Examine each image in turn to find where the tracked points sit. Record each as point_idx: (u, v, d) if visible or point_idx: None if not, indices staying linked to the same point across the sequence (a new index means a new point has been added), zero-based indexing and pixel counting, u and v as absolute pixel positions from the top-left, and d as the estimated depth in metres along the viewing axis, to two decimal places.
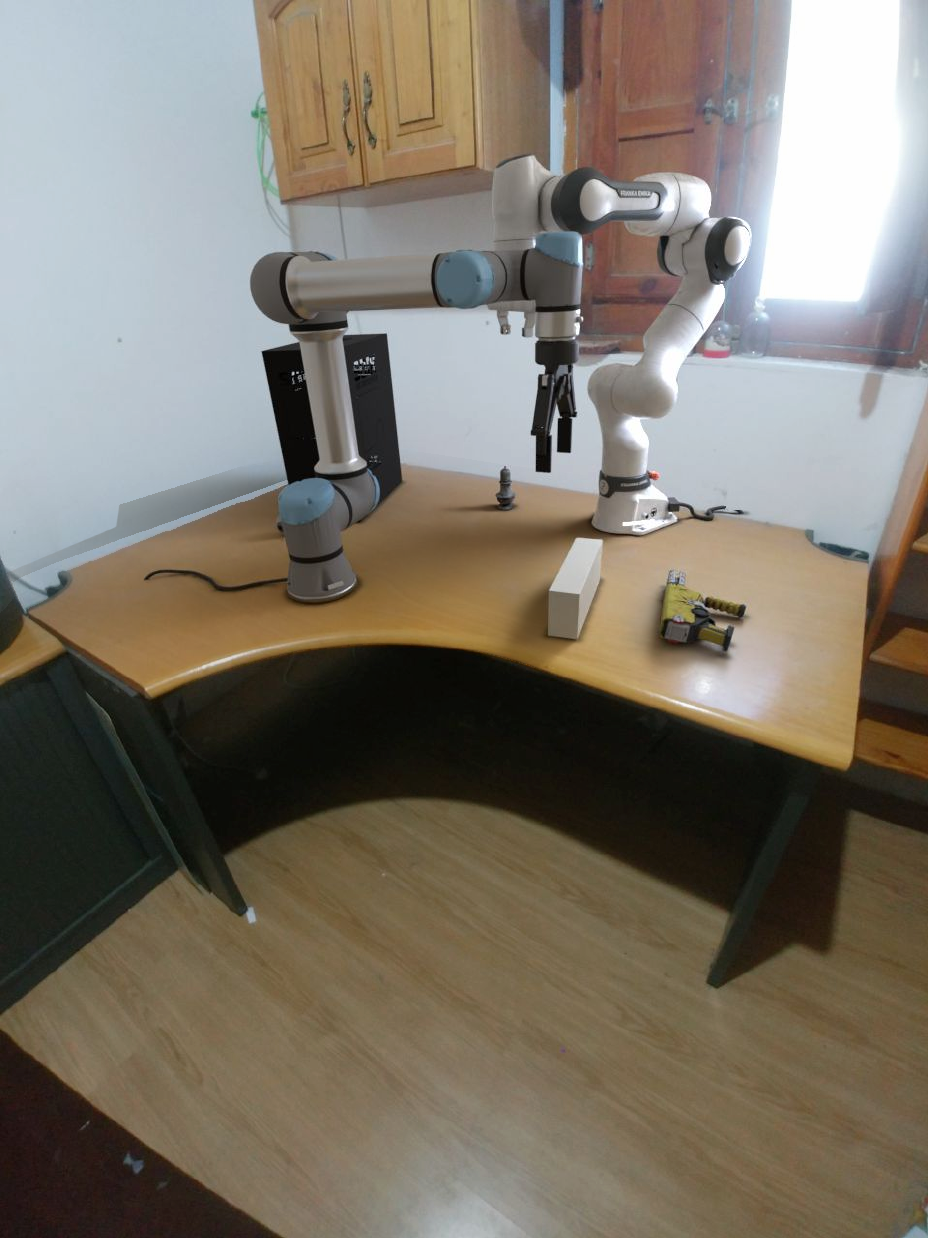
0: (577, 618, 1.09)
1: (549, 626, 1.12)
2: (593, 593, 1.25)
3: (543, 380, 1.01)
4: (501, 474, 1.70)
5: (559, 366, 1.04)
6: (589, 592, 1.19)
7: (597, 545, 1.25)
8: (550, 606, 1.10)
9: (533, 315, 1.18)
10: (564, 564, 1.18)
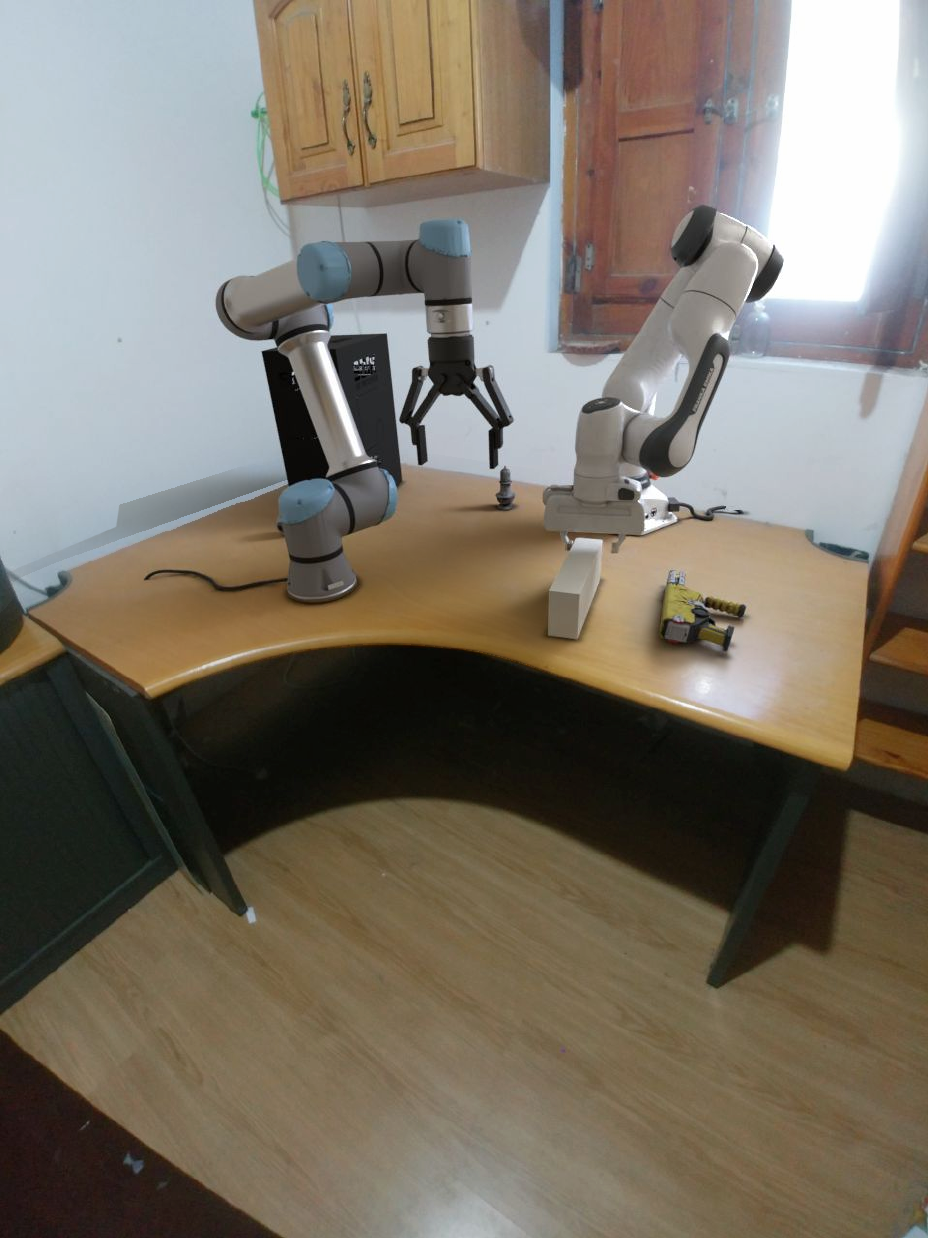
0: (577, 618, 1.09)
1: (549, 626, 1.12)
2: (593, 593, 1.25)
3: None
4: (501, 474, 1.70)
5: (438, 363, 0.99)
6: (589, 592, 1.19)
7: (597, 545, 1.25)
8: (550, 606, 1.10)
9: None
10: (564, 564, 1.18)
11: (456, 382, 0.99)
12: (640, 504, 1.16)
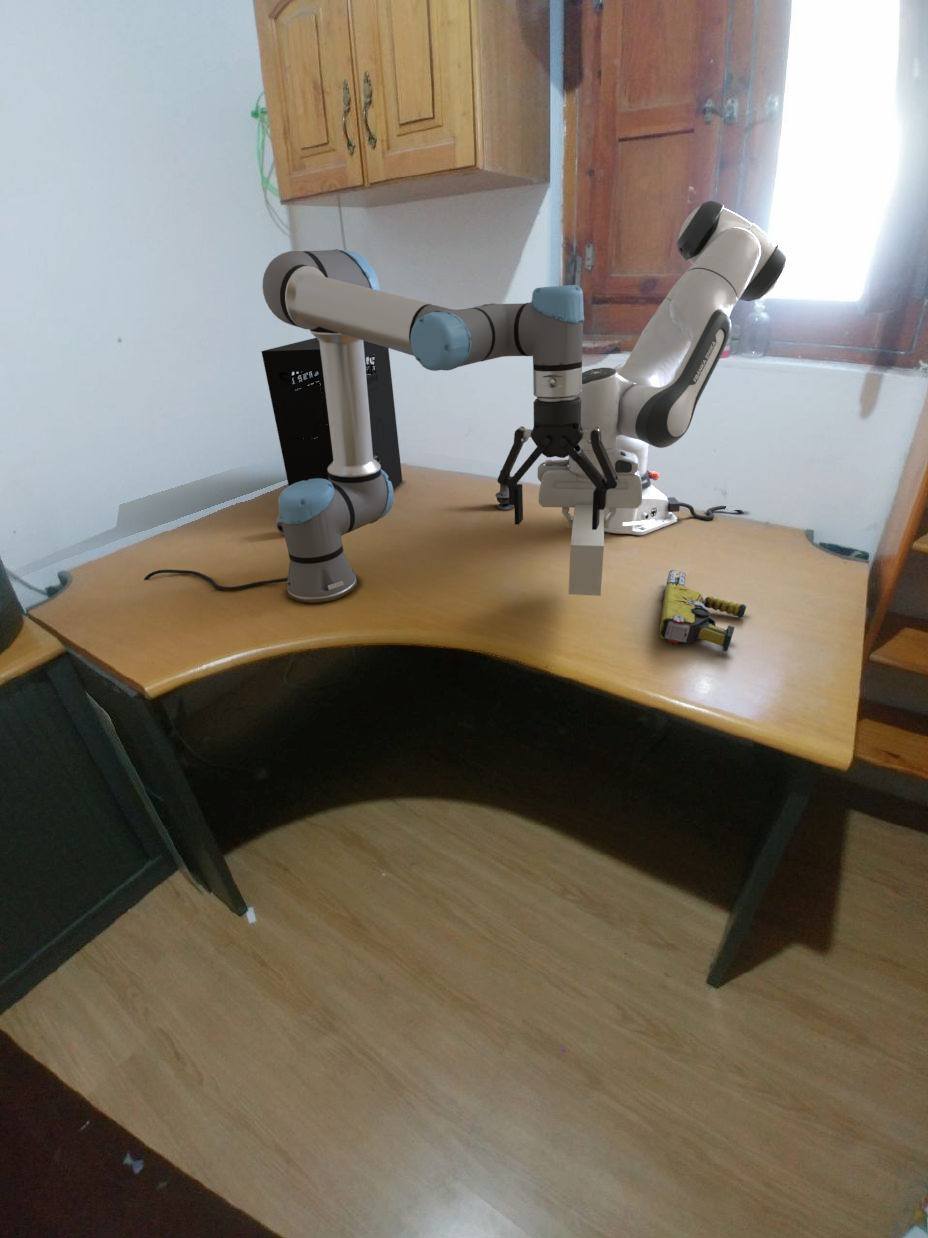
0: (601, 572, 1.04)
1: (570, 584, 1.06)
2: None
3: None
4: None
5: (543, 425, 0.97)
6: None
7: None
8: (572, 562, 1.04)
9: (562, 509, 1.22)
10: (575, 520, 1.12)
11: (562, 445, 0.96)
12: (637, 476, 1.14)
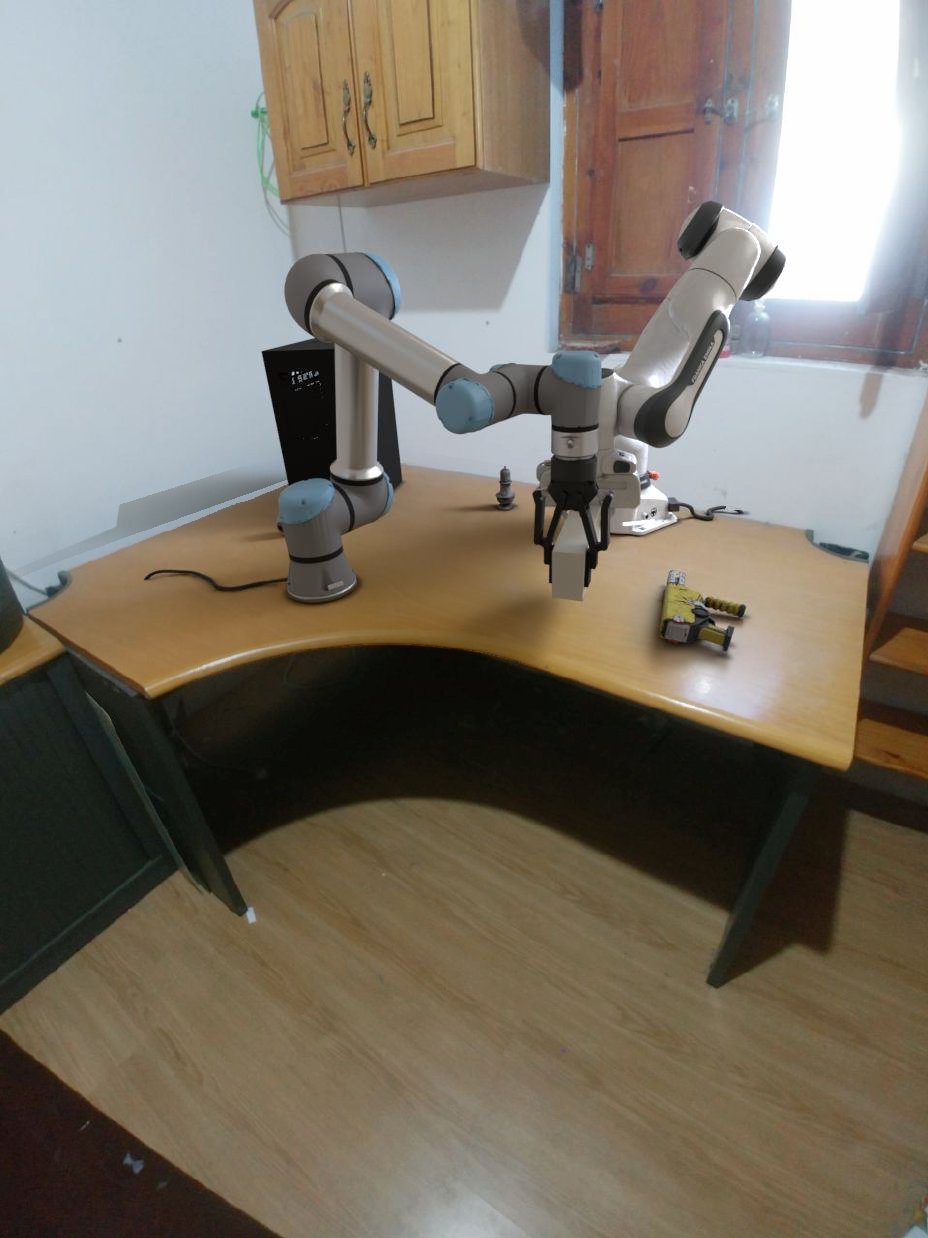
0: (582, 579, 1.06)
1: (553, 588, 1.09)
2: None
3: None
4: (501, 474, 1.70)
5: None
6: None
7: None
8: (553, 568, 1.06)
9: None
10: (566, 523, 1.13)
11: (578, 500, 1.00)
12: (636, 476, 1.14)
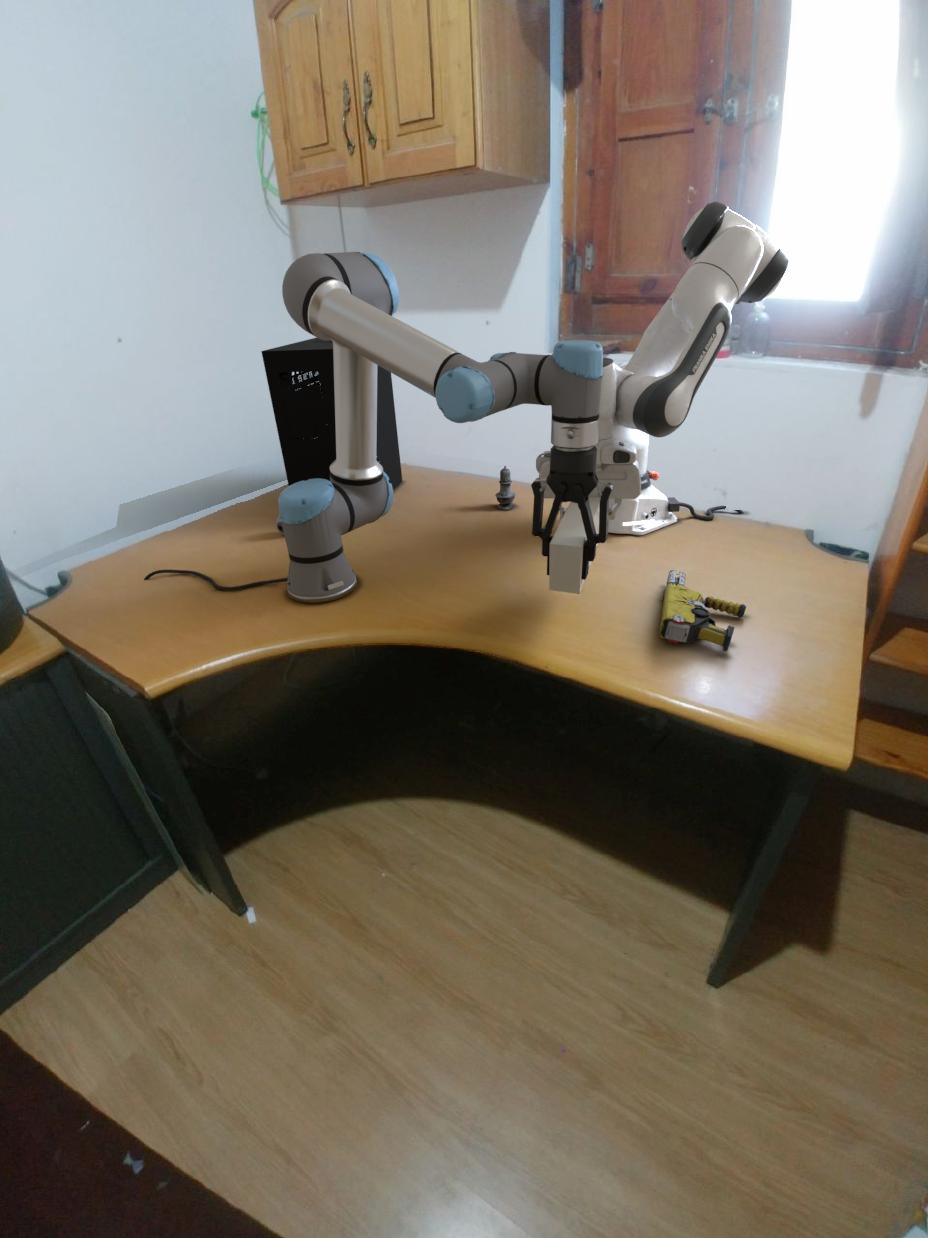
0: (579, 572, 1.05)
1: (550, 580, 1.08)
2: None
3: None
4: (501, 474, 1.70)
5: None
6: None
7: None
8: (551, 560, 1.06)
9: None
10: (565, 515, 1.13)
11: (577, 491, 0.99)
12: (636, 466, 1.14)
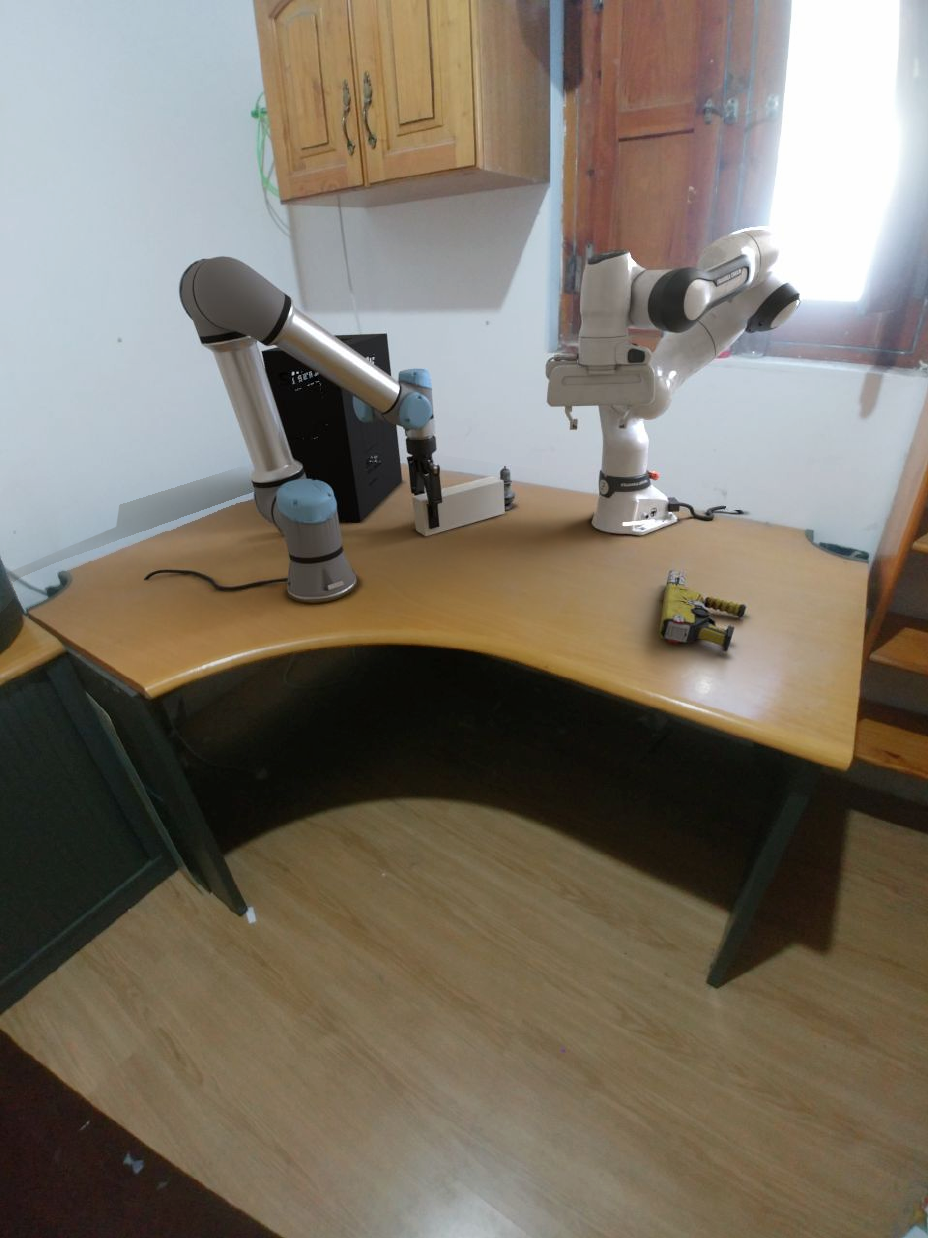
0: (423, 520, 1.57)
1: (415, 523, 1.62)
2: (479, 517, 1.66)
3: None
4: (501, 474, 1.70)
5: None
6: (461, 511, 1.62)
7: (492, 482, 1.64)
8: (414, 508, 1.60)
9: None
10: (450, 487, 1.63)
11: (418, 466, 1.51)
12: (650, 367, 1.10)
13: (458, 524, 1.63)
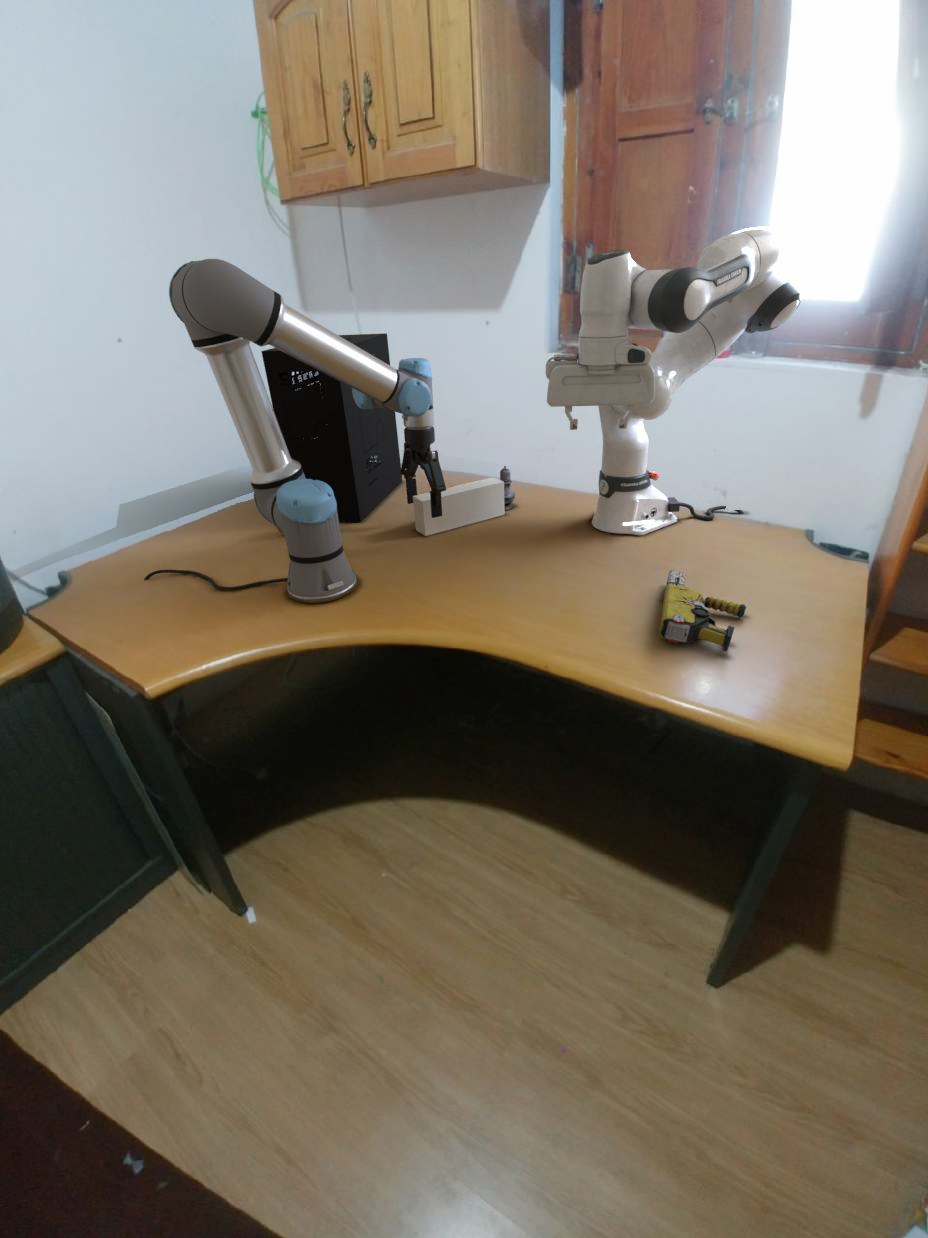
0: (423, 519, 1.57)
1: (415, 523, 1.62)
2: (479, 517, 1.66)
3: None
4: (501, 474, 1.70)
5: None
6: (461, 511, 1.62)
7: (493, 483, 1.64)
8: (414, 508, 1.60)
9: None
10: (450, 487, 1.63)
11: (416, 457, 1.50)
12: (650, 367, 1.10)
13: (458, 524, 1.63)
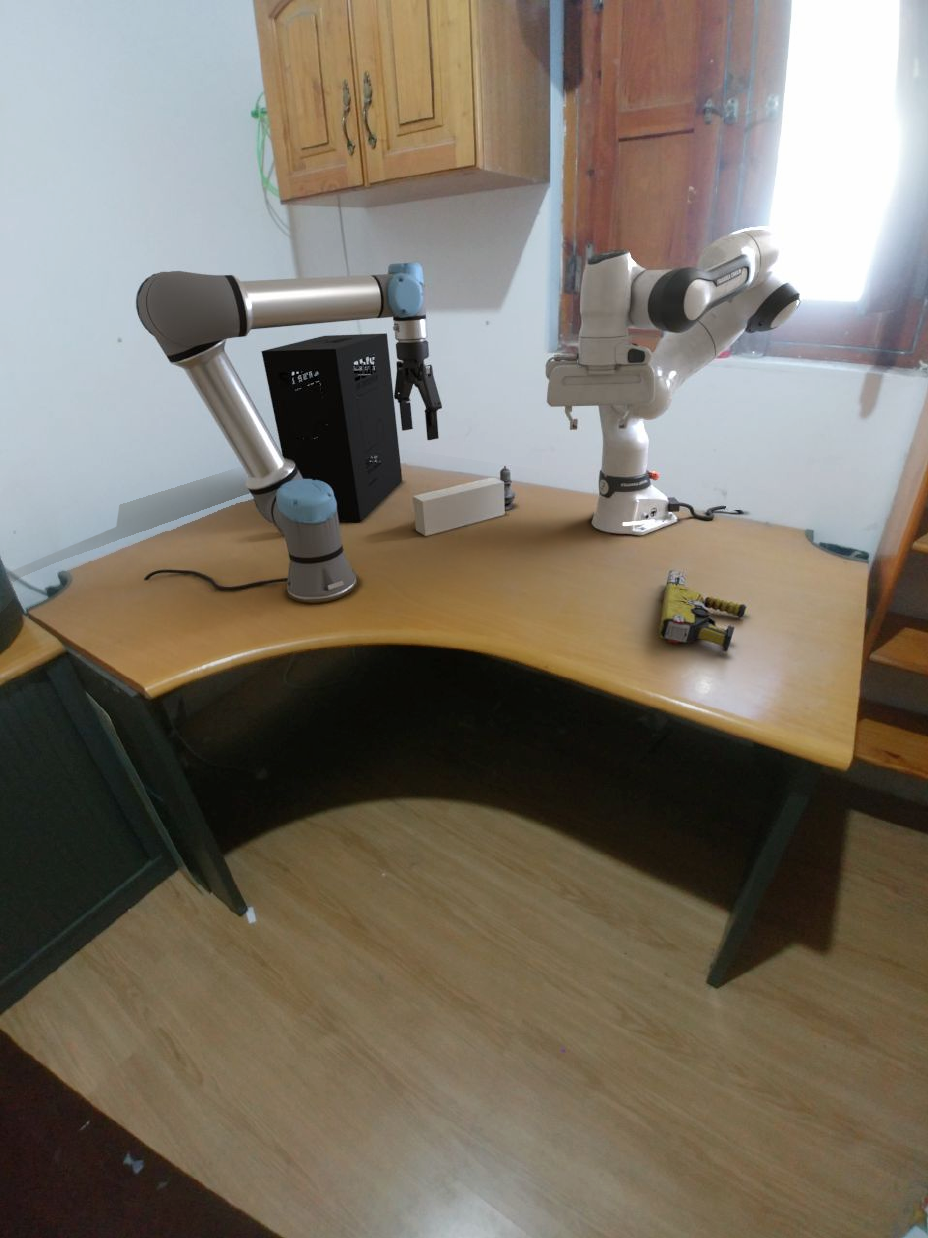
0: (423, 519, 1.57)
1: (415, 523, 1.62)
2: (479, 517, 1.66)
3: None
4: (501, 474, 1.70)
5: None
6: (461, 511, 1.62)
7: (493, 483, 1.64)
8: (414, 508, 1.60)
9: None
10: (450, 487, 1.63)
11: (409, 374, 1.40)
12: (650, 367, 1.10)
13: (458, 524, 1.63)
